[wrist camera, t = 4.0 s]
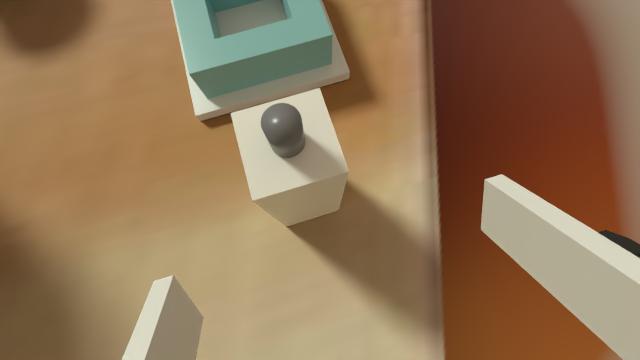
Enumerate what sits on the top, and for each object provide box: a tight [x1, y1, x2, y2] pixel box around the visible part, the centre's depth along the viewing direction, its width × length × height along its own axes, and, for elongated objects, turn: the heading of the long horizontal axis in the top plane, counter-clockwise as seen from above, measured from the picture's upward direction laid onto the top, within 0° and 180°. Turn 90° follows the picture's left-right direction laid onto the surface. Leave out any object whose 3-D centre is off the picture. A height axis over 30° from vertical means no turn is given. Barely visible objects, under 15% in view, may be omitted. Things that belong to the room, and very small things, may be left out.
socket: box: [171, 0, 350, 121], centre depth 26 cm, size 14×14×4 cm
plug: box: [231, 88, 349, 227], centre depth 17 cm, size 4×4×13 cm
